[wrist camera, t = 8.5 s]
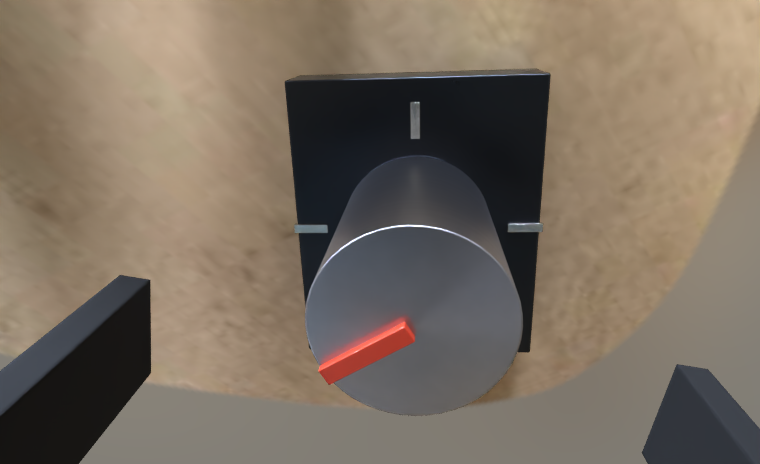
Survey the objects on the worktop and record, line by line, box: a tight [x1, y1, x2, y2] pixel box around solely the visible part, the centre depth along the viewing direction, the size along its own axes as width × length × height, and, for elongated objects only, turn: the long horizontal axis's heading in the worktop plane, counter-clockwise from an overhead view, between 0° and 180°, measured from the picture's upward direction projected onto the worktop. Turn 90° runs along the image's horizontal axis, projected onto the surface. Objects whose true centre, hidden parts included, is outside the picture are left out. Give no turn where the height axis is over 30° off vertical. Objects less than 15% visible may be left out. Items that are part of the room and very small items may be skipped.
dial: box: [305, 157, 523, 416], centre depth 18 cm, size 6×6×8 cm
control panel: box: [285, 69, 550, 352], centre depth 23 cm, size 12×10×3 cm
